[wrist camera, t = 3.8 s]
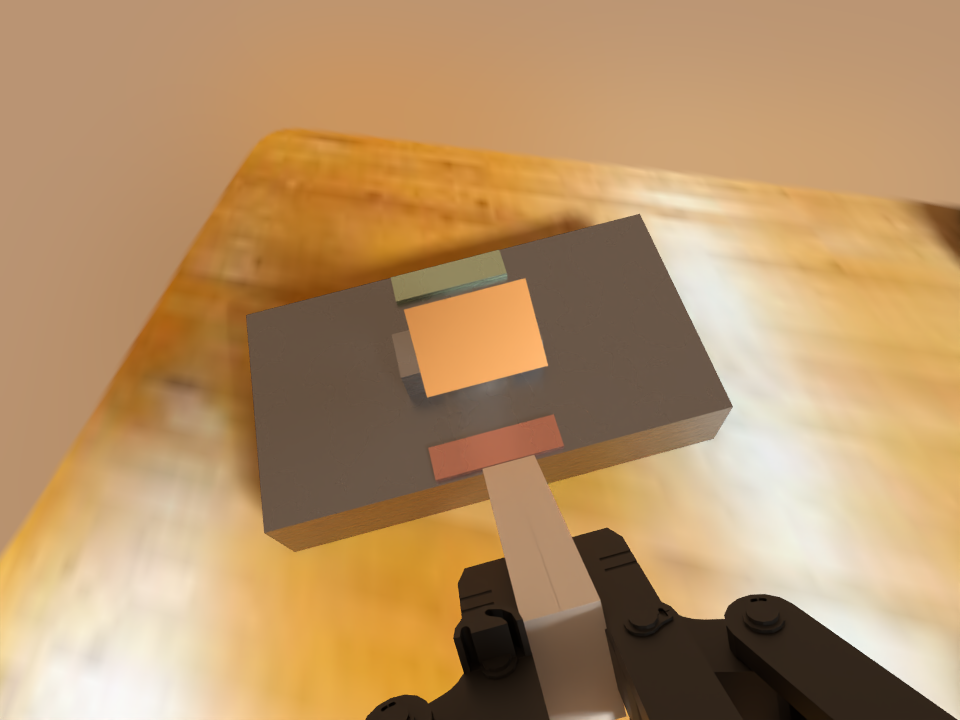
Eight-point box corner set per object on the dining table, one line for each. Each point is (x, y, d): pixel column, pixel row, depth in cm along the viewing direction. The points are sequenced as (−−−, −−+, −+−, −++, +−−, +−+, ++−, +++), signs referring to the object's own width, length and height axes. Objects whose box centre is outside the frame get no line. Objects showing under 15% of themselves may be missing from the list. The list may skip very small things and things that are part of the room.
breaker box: (631, 258, 39) (644, 188, 34) (713, 438, 33) (744, 388, 28) (273, 351, 38) (230, 294, 33) (294, 551, 33) (246, 521, 27)
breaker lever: (495, 308, 32) (525, 278, 19) (508, 358, 32) (547, 365, 19) (425, 326, 32) (403, 309, 19) (438, 377, 32) (426, 397, 19)
